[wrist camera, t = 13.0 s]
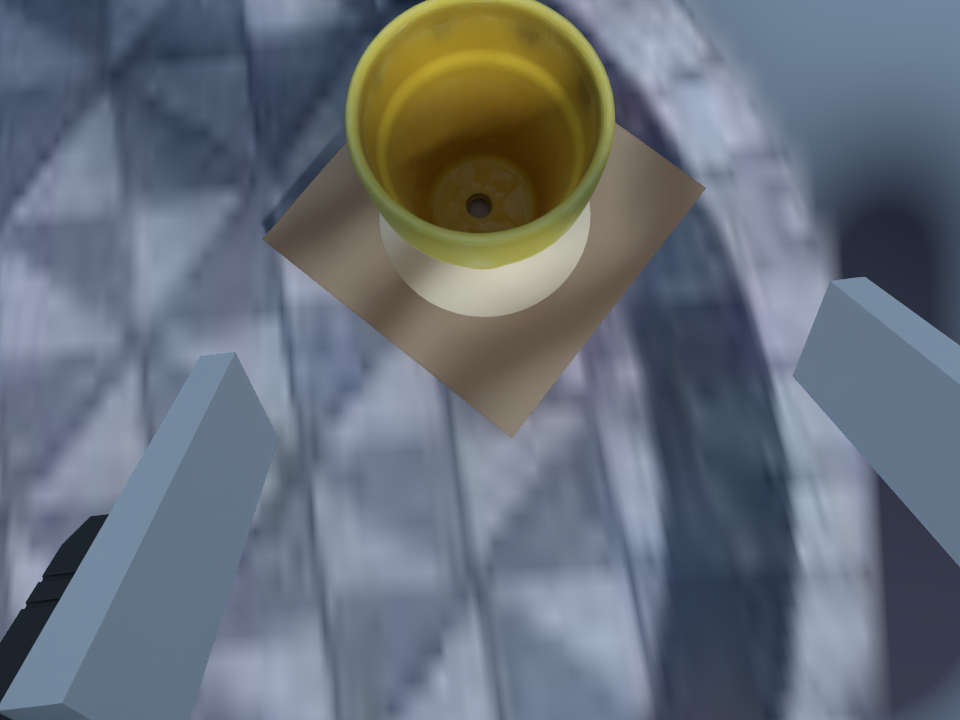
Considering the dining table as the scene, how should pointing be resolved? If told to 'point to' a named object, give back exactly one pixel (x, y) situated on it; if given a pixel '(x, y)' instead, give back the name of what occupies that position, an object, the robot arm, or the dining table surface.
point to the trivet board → (488, 277)
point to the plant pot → (480, 127)
